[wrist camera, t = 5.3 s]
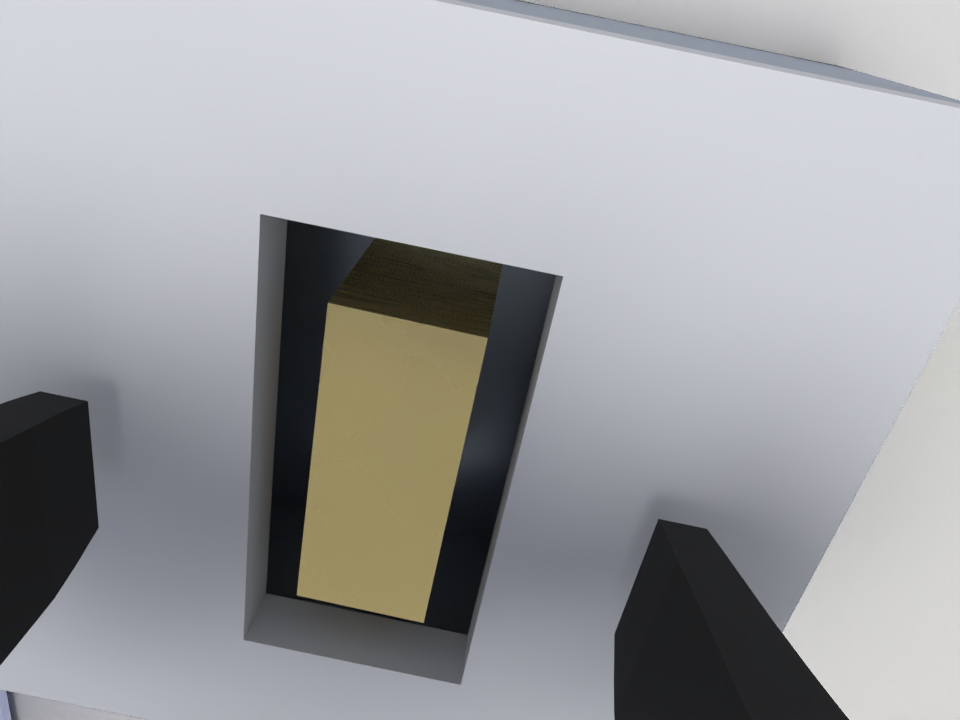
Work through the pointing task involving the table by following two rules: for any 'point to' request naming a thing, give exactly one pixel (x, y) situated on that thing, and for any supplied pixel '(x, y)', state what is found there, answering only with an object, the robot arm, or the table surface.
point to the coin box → (511, 341)
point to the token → (392, 424)
